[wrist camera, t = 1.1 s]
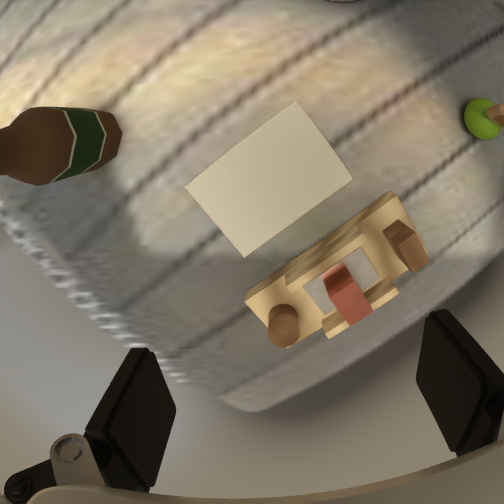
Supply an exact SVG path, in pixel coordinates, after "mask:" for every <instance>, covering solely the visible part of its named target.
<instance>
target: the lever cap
mask: <svg viewBox="0 0 504 504" xmlns="http://www.w3.org/2000/svg"><path fill="white" fill-rule="evenodd" d="M378 280H380V278H379V276H378V275H377V273H376V271H375V270H374V268H373V267H372V265H371V263H370V262H369V260H368V259H367V257H366V256H365V254H364V252H363V251H362V249H361V248H360V247H358V248H357V249H355V250H354V251H352V252H351V253H350V254H348V255H347V256H345V257H344V258H342V259H341V260H340V261H338V262H337V263H335V264H334V265H332V266H331V267H329V268H328V269H326V270H325V271H324V272H322V273H321V274H319V275H318V276H316V277H315V278H313V279H312V280H310V281H309V282H307V283H306V284H304V285H303V286H302V287H303V288H304V290H305V291H306V292H307V293H308V295H309V296H310V297H311V299H312V300H313V301H314V302H315V304H316V305H317V306H318V307H319V309H320V310H321V311H322V312H323V314H324V315H325V316H326V315H327V314H329V313H331V312H332V311H334V310H335V309H338V311H339V312H340V313H341V315H342V316H343V317H344V319H345V320H346V321H347V323H348V324H349V325H350V326H351V325H353V324H355V323H356V322H358V321H359V320H361V319H362V318H364V317H365V316H367V315H368V314H370V313H372V312H373V311H374V310H373V309H372V307H371V305H370V303H369V301H368V299H367V297H366V296H365V294H364V292H363V291H364V290H365V289H367V288H368V287H370V286H371V285H373V284H374V283H376V282H377V281H378Z"/></svg>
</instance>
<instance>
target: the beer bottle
mask: <svg viewBox="0 0 504 504" xmlns="http://www.w3.org/2000/svg"><path fill="white" fill-rule="evenodd" d="M121 134H122V133H121V131H120V129H119V127H118V125H117V123H116V121H115V119H114V117H113V115H112V114H110V113H106V112H101V111H97V110H92V109H86V108H67V107H35V108H30V109H28V110H26V111H24V112H23V113H21V114H20V115H19V116H18V117H17V118H16V119H15V120H14V121H13V122H12V123H11V124H10V126H7V127H5V128H2V129H0V175H8V176H10V177H11V178H14V179H17V180H20V181H23V182H25V183H29V184H33V185H37V186H39V185H44V184H49V183H52V182H55V181H58V180H62V179H65V178H68V177H71V176H75V175H78V174H82V173H85V172H89V171H92V170H95V169H97V168H99V167H101V166H102V165H103V164H105V163H106V162H108V161H109V160H111V159H112V158H114V157H115V156H116V153H117V149H118V145H119V141H120V137H121Z"/></svg>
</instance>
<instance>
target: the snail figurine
mask: <svg viewBox="0 0 504 504" xmlns="http://www.w3.org/2000/svg"><path fill="white" fill-rule="evenodd" d="M464 120H465V124H466V126H467V128H468V130H469V131H470V132H471V133H472V134H473V135H474V136H475V137H477V138H479V139H482V140H491V139H493V138H495V137H496V136H498V134H499V133H500V131H501V129H502V127H504V103H501V104H499V105H495V104H494V103H493V102H492V101H490V100H488V99H485V98H475V99H473V100H471V101H470V102H469V103H468V104H467V106H466V108H465V111H464Z"/></svg>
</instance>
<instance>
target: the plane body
mask: <svg viewBox="0 0 504 504" xmlns="http://www.w3.org/2000/svg"><path fill="white" fill-rule="evenodd" d="M358 247H360V248H361V249H362V251H363V252H364V254H365V256H366V257H367V259H368V260H369V262H370V263H371V265H372V267H373V268H374V270H375V271H376V273H377V275H378V276H379V278H380V280H378V281H377V282H376V283H374V284H373V285H371V286H370V287H368V288H367V289H365V290H364V291H363V292H364V294H365V296H366V297H367V299H368V301H369V303H370V305H371V307H372V309H373V310H375V309H377V308H378V307H380V306H381V305H383V304H384V303H386V302H387V301H388V300H390V299H391V298H393V297H394V296H396V295H397V294H399V292H398V290H397V289H396V287H395V286H394V284H393V283H392V282H391V281H393V280H394V279H396V278H397V277H398V276H400V275H401V274H403V273H404V272H405V271H407V270H408V269H409V270H410V271H411V272H412V273H413V274H414V273H415V272H416V271H418V270H419V269H420V268H422V267H423V266H424V265H426V264H427V263H428V262H430V260H429V258H428V253H427V251H426V249H425V247H424V245H423V243H422V241H421V239H420V237H419V235H418V233H417V231H416V230H415V228H414V226H413V224H412V222H411V220H410V218H409V216H408V215H407V213H406V211H405V209H404V207H403V206H402V204H401V202H400V200H399V199H398V197H397V195H395V194H393V193H391V192H388V193H386V194H385V195H384V196H382V197H381V198H379V199H378V200H377V201H375V202H374V203H373V204H371V205H370V206H368V207H367V208H366V209H364V210H363V211H362V212H360V213H359V214H357V215H356V216H355V217H353V218H352V219H350V220H349V221H348V222H346V223H345V224H343V225H342V226H341V227H339V228H338V229H336V230H335V231H334V232H332V233H331V234H329V235H328V236H326V237H325V238H324V239H322V240H321V241H319V242H318V243H317V244H315V245H314V246H312V247H311V248H309V249H308V250H307V251H305V252H304V253H302V254H301V255H299V256H298V257H296V258H295V259H294V260H292V261H291V262H289V263H288V264H286V265H285V266H283V267H282V268H281V269H279V270H278V271H276V272H275V273H273V274H272V275H270V276H269V277H267V278H266V279H265V280H263V281H262V282H260V283H259V284H257V285H256V286H254V287H253V288H251V289H250V290H248V291H247V292H246V295H245V303H246V304H247V305H248V306H249V307H250V308H251V310H252V311H253V312H254V313H255V314H256V315H257V316H258V317H259V318H260V319H261V321H262V322H263V323H264V324H265V325H266V326H267V327H268V337H269V340H270V341H271V343H273V344H274V345H276V346H278V347H286V348H288V347H290V346H292V345H293V344H295V343H297V342H299V341H300V340H302V339H304V338H305V337H307V336H309V335H310V334H312V333H314V332H315V331H317V330H318V329H320V328H322V327H323V329H324V333H325V335H326V336H327V337H328V338H329V339H330V338H331V337H333V336H335V335H336V334H338V333H339V332H341V331H343V330H344V329H346V328H347V327H349V326H350V325H349V324H348V323H347V321H346V320H345V319H344V317H343V316H342V315H341V313H340V312H339V311H338V309H335V310H334V311H332V312H331V313H329V314H327V315H326V316H325V315H324V314H323V312H322V311H321V310H320V309H319V307H318V306H317V305H316V304H315V302H314V301H313V300H312V299H311V297H310V296H309V295H308V293H307V292H306V291H305V290H304V288H303V287H302V286H303V285H304V284H306V283H307V282H309V281H310V280H312V279H313V278H315V277H316V276H318V275H319V274H321V273H322V272H324V271H325V270H326V269H328V268H329V267H331V266H332V265H334V264H335V263H337V262H338V261H340V260H341V259H342V258H344V257H345V256H347V255H348V254H350V253H351V252H352V251H354V250H355V249H357V248H358Z"/></svg>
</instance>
